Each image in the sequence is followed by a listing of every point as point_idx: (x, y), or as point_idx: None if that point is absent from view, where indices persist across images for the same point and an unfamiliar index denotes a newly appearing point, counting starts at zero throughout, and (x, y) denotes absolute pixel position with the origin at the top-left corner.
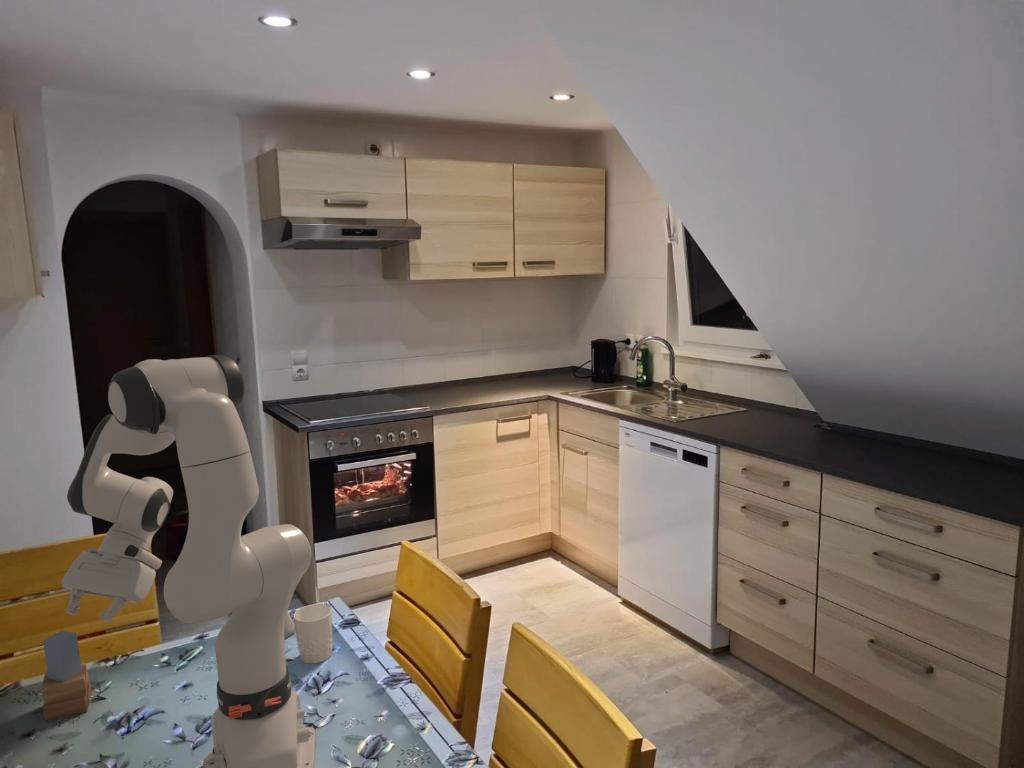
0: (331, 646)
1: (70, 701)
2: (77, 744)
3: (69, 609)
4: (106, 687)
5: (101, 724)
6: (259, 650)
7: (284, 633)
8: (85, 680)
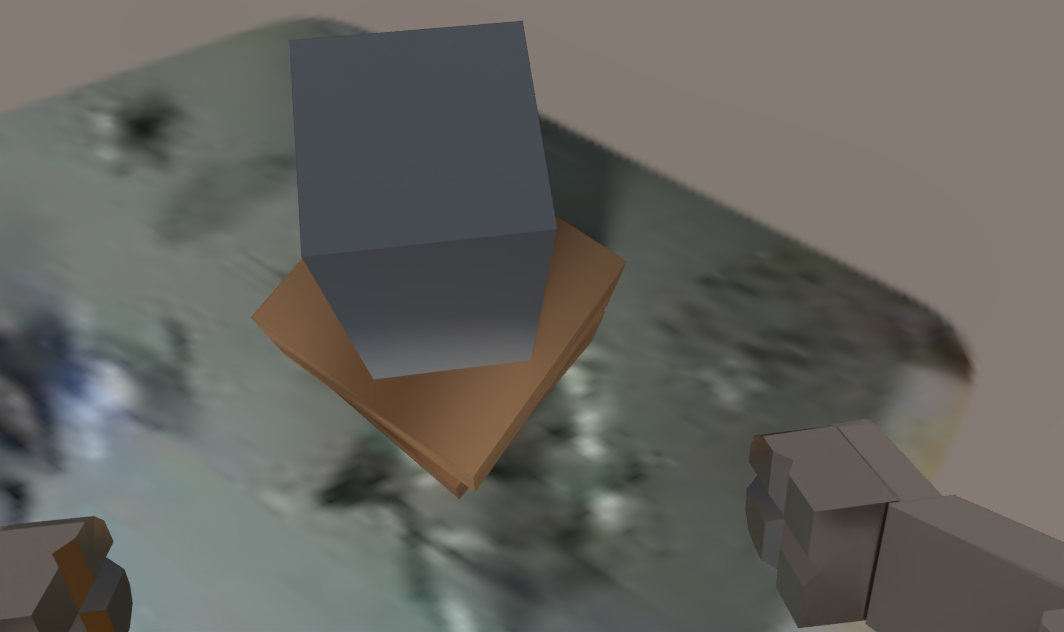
0: None
1: None
2: (96, 179)
3: (813, 438)
4: (429, 584)
5: (116, 328)
6: None
7: None
8: (314, 368)
